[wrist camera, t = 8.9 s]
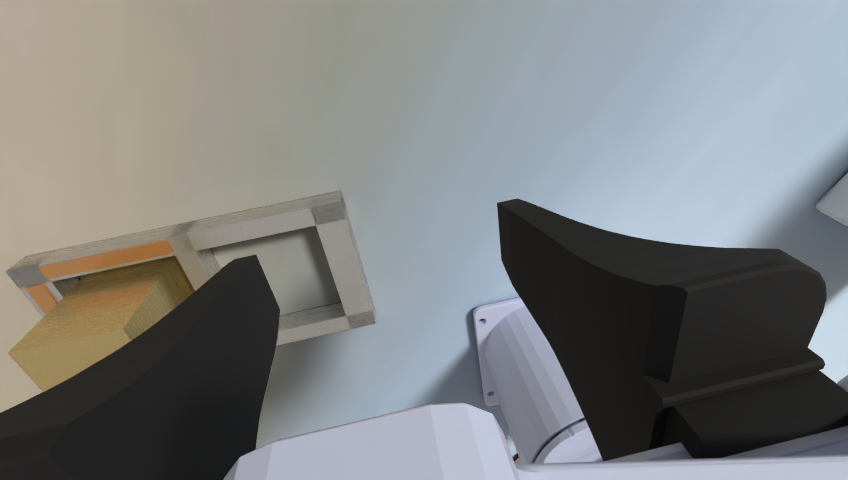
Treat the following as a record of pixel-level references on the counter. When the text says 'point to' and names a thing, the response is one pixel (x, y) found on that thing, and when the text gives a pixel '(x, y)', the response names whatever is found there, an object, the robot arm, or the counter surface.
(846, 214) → the tea box
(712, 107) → the counter surface
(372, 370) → the counter surface
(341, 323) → the grey rectangular frame
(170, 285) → the tan wooden block
